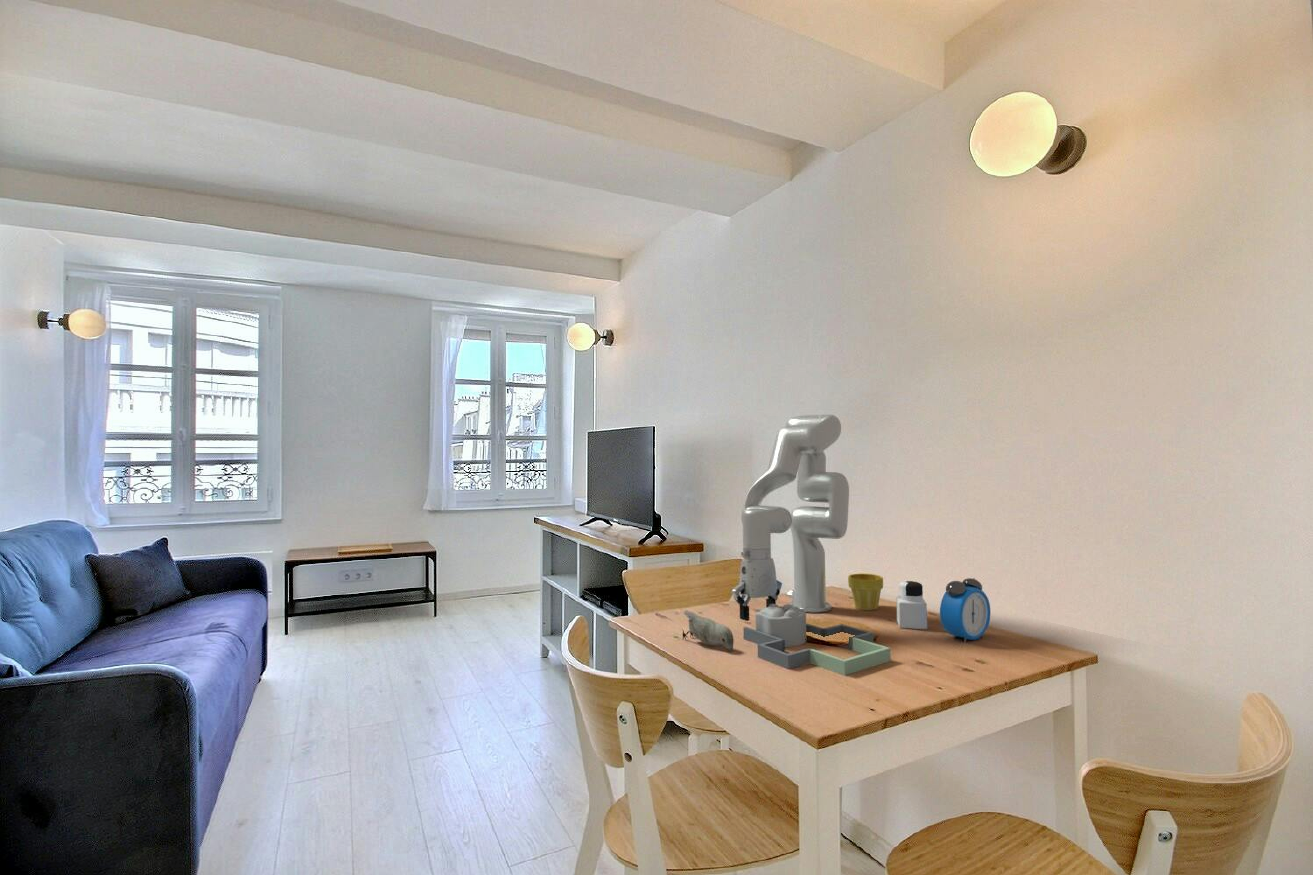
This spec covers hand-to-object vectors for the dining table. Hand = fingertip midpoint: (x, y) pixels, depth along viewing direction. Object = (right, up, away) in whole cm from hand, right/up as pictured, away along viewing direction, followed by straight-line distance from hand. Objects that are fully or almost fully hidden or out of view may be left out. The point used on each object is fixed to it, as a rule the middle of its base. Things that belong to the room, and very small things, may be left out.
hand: (758, 616), depth 170 cm
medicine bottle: (+43, -4, +3) cm, 44 cm away
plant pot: (+37, -4, +23) cm, 44 cm away
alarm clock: (+52, -3, -9) cm, 53 cm away
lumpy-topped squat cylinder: (+5, -4, -8) cm, 11 cm away
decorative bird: (-15, -4, -11) cm, 19 cm away
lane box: (+11, -3, -17) cm, 20 cm away
